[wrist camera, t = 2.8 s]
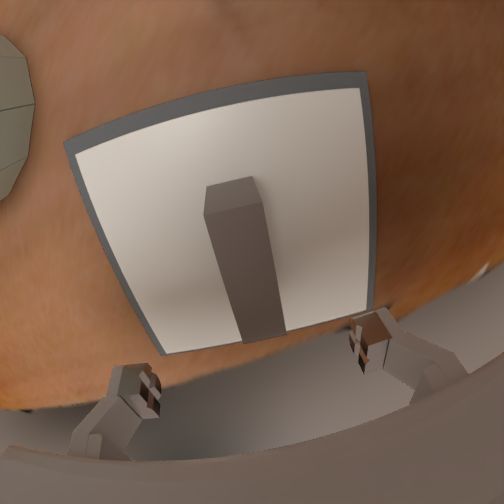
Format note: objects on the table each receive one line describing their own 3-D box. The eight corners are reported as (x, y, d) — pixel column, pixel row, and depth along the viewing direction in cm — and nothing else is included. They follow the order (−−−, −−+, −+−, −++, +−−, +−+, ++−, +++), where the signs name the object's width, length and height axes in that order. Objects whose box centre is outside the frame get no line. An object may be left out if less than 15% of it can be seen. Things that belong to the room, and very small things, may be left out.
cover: (353, 87, 14) (398, 90, 10) (362, 303, 22) (386, 346, 18) (80, 151, 14) (39, 175, 10) (167, 346, 22) (161, 395, 18)
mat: (362, 71, 14) (365, 71, 14) (370, 306, 23) (372, 309, 23) (65, 141, 14) (62, 142, 14) (161, 352, 23) (161, 355, 23)
